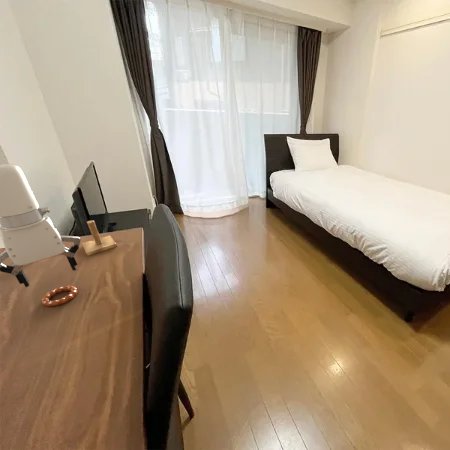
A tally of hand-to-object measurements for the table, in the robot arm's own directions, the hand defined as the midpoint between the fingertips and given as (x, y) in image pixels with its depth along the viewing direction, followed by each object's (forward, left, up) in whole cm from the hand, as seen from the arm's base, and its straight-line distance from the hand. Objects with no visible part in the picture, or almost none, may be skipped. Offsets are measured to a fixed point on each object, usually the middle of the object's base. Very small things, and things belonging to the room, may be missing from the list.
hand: (51, 276), depth 72 cm
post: (+14, +25, -7) cm, 30 cm away
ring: (0, 0, -7) cm, 7 cm away
